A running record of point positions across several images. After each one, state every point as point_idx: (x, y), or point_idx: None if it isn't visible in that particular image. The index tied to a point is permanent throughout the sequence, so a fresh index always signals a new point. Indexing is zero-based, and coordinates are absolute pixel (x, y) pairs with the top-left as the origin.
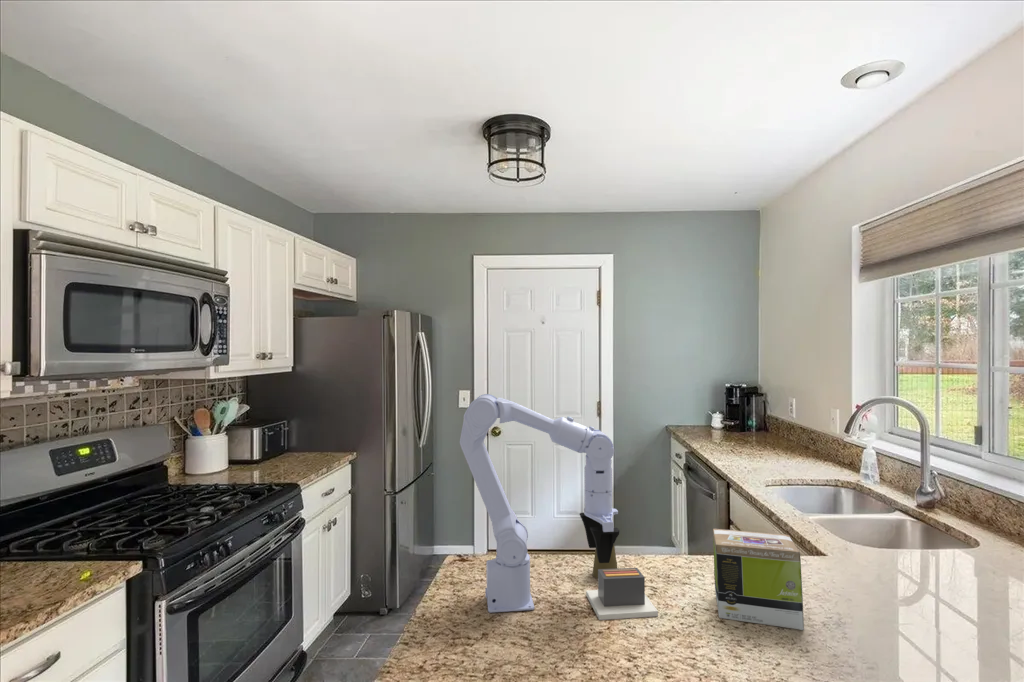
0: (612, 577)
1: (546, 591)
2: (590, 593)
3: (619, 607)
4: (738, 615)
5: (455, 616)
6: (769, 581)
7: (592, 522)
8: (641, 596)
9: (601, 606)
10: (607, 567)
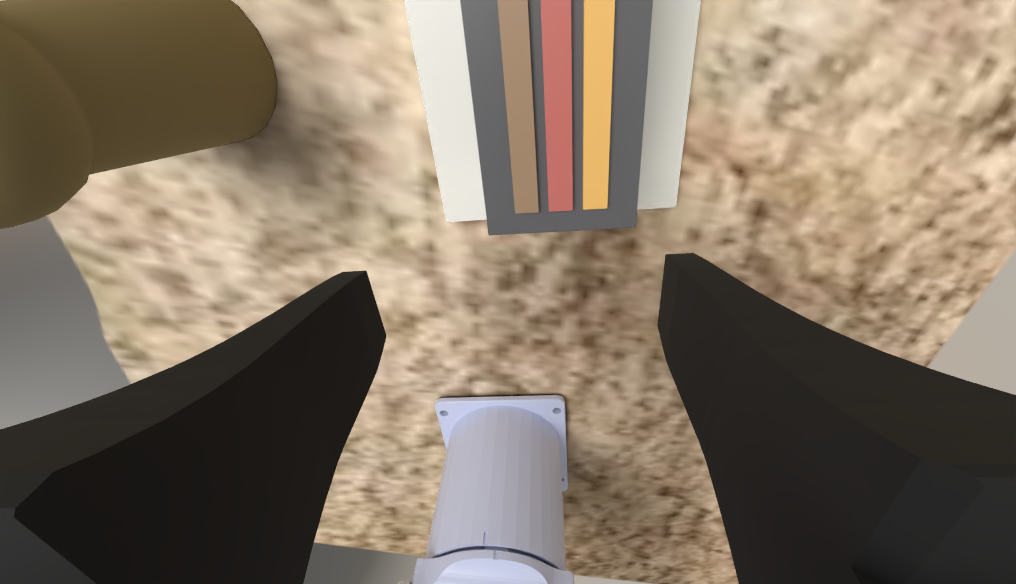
0: (621, 164)
1: (426, 348)
2: (474, 207)
3: None
4: None
5: (570, 532)
6: None
7: (262, 522)
8: None
9: None
10: (222, 78)
